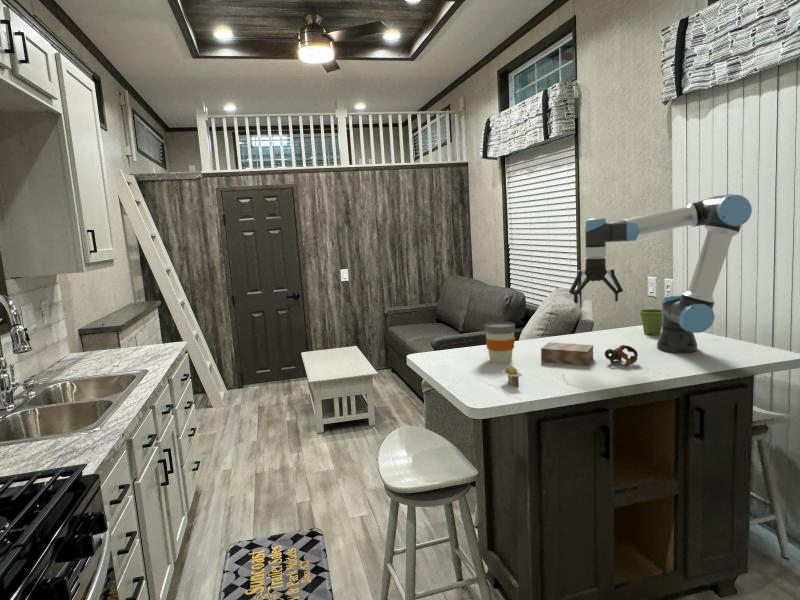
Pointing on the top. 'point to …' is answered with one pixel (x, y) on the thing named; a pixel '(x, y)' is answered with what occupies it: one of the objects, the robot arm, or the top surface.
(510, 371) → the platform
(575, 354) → the walnut box
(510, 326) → the reusable coffee cup
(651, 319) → the plant pot
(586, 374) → the top surface
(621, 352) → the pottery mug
